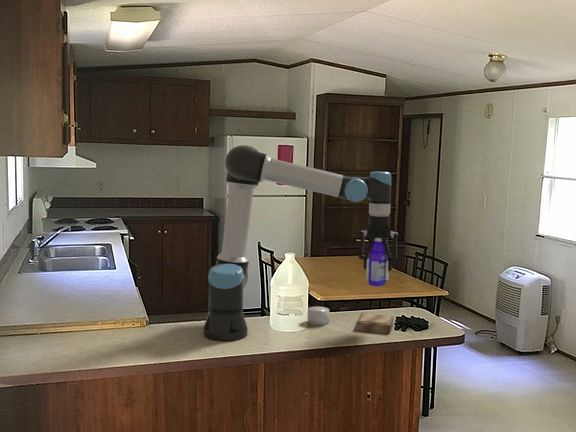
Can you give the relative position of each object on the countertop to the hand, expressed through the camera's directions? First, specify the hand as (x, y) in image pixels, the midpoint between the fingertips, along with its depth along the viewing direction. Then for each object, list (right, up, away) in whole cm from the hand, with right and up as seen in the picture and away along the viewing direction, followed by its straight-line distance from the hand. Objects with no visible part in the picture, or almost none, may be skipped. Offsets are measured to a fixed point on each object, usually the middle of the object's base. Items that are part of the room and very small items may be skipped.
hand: (377, 278), depth 217 cm
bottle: (0, -2, +1) cm, 3 cm away
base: (-1, -18, +2) cm, 18 cm away
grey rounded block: (-21, -17, +7) cm, 28 cm away
